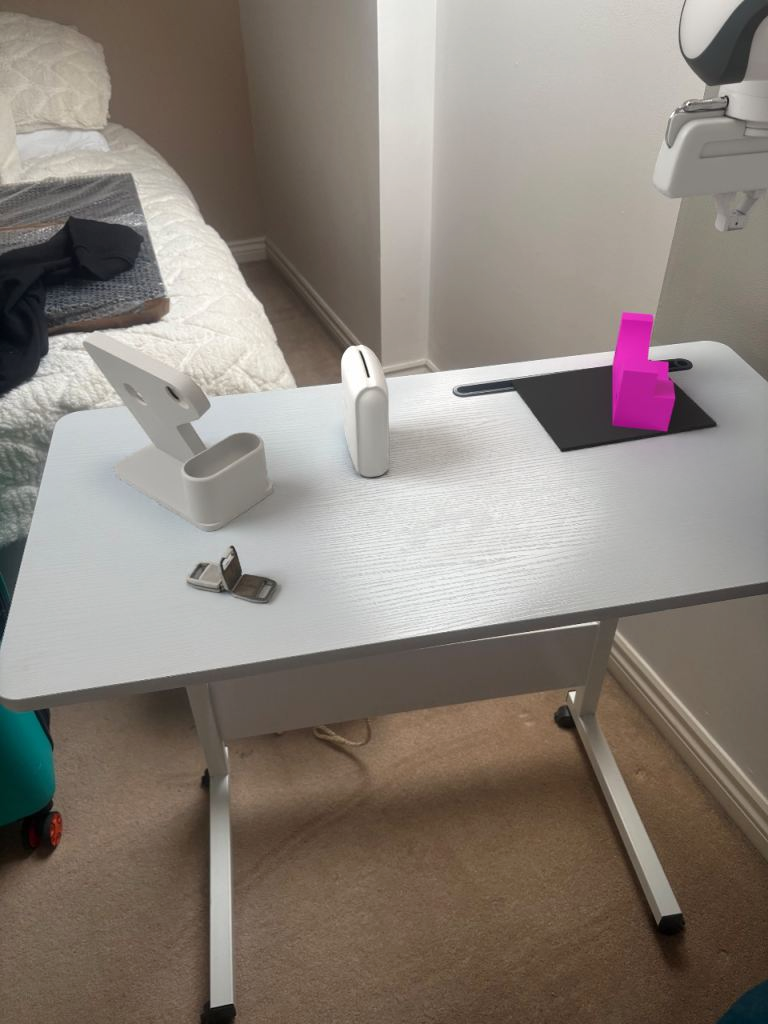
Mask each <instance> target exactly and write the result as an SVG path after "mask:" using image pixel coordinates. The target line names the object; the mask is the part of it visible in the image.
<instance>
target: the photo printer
mask: <svg viewBox="0 0 768 1024" xmlns="http://www.w3.org/2000/svg"><path fill="white" fill-rule="evenodd" d="M340 371H341V391H342V394H341V395H342V410H343V411H342V412H343V427H344V435H345V439H346V444H347V448H348V451H349V455H350V458H351V462H352V464H353V467H354V470H355V472H356V473H357V475H361V476H362V477H366V478H373V477H374V478H375V477H379V476H382V475H384V474H385V473H386V472H388V471H389V470H390V469H389V468H390V429H389V428H390V421H389V420H390V419H389V418H390V417H389V414H390V413H389V412H390V411H389V405H390V403H389V402H390V401H389V399H390V398H389V397H390V396H389V395H390V394H389V387H388V383H387V378H386V374H385V372H384V369H383V367H382V364H381V361H380V359H379V358H378V357H377V355H376V354H375V352H374V351H373V349H371V348H369V347H368V346H366V345H363V344H360V345H359V344H358V345H351V346H349V347H348V348H347V349H345V351H344V352H343V354H342V357H341V361H340Z"/></svg>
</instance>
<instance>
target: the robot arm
mask: <svg viewBox="0 0 768 1024" xmlns="http://www.w3.org/2000/svg"><path fill="white" fill-rule="evenodd" d="M678 46H679V50H680V54H681V56H682V57H683V59H684V61H685V62H686V64H687V65H688V67H689V68H690V69H691V71H692V72H693V73H694V74H695V75H696V76H697V77H698V78H699V79H700V80H701V82H703V83H704V84H705V85H707V86H708V87H718V86H720V87H719V90H718V95H717V96H715V97H708V98H704V99H699V98H691V99H688V100H685V101H683V103H682V104H681V105H679V106H678V107H676V108H675V109H674V110H673V111H672V112H671V113H670V114H669V116H668V118H667V121H666V126H665V132H664V138H663V141H662V144H661V146H660V150H659V152H658V156H657V158H656V162H655V165H654V169H653V173H652V184H653V187H655V189H656V190H657V192H659V193H660V194H661V195H662V196H665V197H667V198H668V199H683V198H692V197H701V196H710V195H712V199H713V203H714V207H715V209H716V212H717V213H716V219H715V223H714V227H715V229H716V230H718V231H719V232H721V233H724V232H731V231H740V230H747V227H748V225H749V222H750V217H751V215H752V214H753V213H754V212H755V210H756V209H757V208H758V207H759V206H760V204H761V203H762V202H763V201H764V199H765V197H766V193H767V191H768V0H684V2H683V5H682V8H681V11H680V16H679V22H678ZM739 192H742V193H743V194H745V195H744V197H743V198H742V199H741V201H740V202H739V204H738V205H737V207H736V208H735V209H732V207H731V204H730V202H734V201H735V200H736V196H737V193H739Z"/></svg>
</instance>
